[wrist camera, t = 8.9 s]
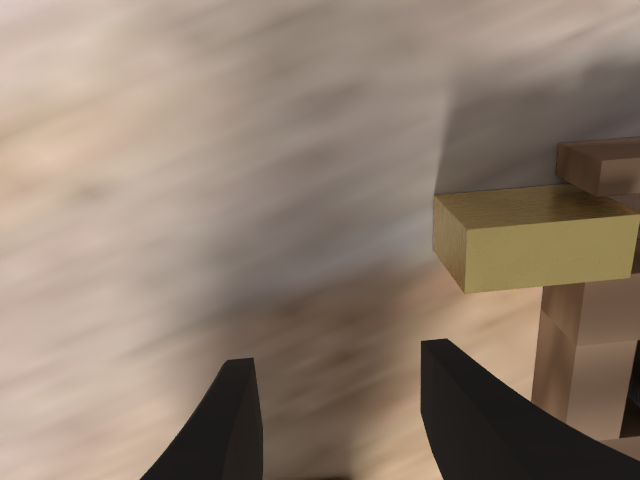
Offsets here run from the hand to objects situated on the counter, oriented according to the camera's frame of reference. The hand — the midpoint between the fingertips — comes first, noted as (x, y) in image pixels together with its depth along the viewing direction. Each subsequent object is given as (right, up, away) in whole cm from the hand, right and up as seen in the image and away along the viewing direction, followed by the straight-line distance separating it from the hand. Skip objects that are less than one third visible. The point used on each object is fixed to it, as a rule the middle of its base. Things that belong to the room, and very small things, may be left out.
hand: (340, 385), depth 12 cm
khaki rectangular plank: (+7, +4, +10) cm, 13 cm away
